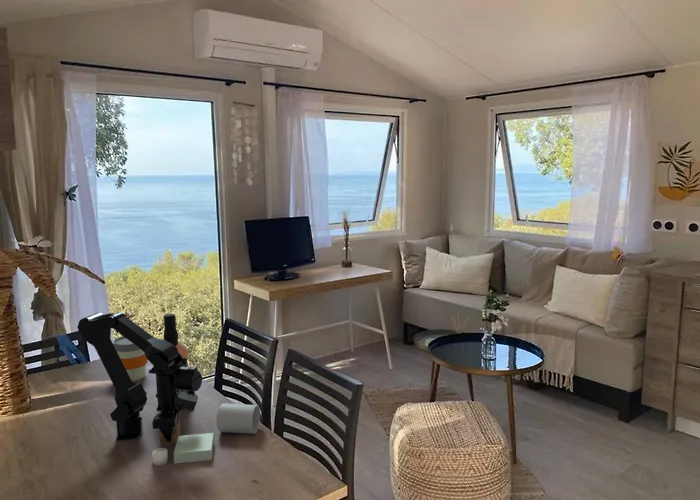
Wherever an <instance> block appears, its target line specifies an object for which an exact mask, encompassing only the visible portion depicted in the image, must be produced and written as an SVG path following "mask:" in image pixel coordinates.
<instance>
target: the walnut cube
mask: <svg viewBox="0 0 700 500" xmlns="http://www.w3.org/2000/svg"><path fill="white" fill-rule="evenodd" d="M180 424H181V423H180V419H178V420H177V423H176V426H175V427H173V429H172V437H171V441H166V439H165V437H164V436H163V434H162V433H161V431H160V430H159V441H160V445H161V446H165V445H176V443H177V440H178V436H181V425H180Z"/></svg>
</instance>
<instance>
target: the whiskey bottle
mask: <svg viewBox="0 0 700 500" xmlns="http://www.w3.org/2000/svg"><path fill="white" fill-rule="evenodd" d="M163 325H164V331H163V340H165V341H167V342H169V343H171V344H173V345H175V346H176V347H177V349H178V352H179V354H180V355H181V356H182V358H183V359H184V360H185V362H186V363H187V364H186V365H185V366H184V367H189V366H188V358H189V351H188V349H187V347H186V346H185V344H183V343H180V342H179V333H178V329H177V319H176V314H174V313H167V314H164V316H163ZM175 363H176V362H175V361H174V362H173V363H171V364H169V365H168V366H169V367H170V366H172V365H174V364H175ZM184 391H185V393H186V392H187V391H188V390H180V392H183V393H184ZM182 410H184V409H182V408H181V410H180V411H182Z"/></svg>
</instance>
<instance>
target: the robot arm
mask: <svg viewBox="0 0 700 500" xmlns="http://www.w3.org/2000/svg"><path fill="white" fill-rule="evenodd" d="M76 327H77V330H78V332H79V334H80V336H81V337H82V338H83V340H84V341H85V342H87V343H88V344H90V345H91V346H92V347H94V350H95V352H97V355H98V357H99V360H100V361H101V362H102V363H101V364H102V365H103V367H104V369H105V371H106V372H107V375H108V377H109V378H110V381H111V383H112V385H113V386H114V387H113V388H114V389H115V392H114V394H115V395H114V401H115V404H116V408H114V409H113V411H112V412H111V413H109V415H110V418H111V420H112V421H113V422H115V425H116V433H117V434H116V437H115V440H116V441H120V440H121V441H122V440H132V439H138V438H139V437H140V436H141V433H142V432H143V430H144V429H143V426H144V425H143V417H142V416H141V413H140V412H142V411H143V410H144V408H145V406H146V405H147V401H148V397H147V395H148V392H147V391H146V390H145V389H144V386H143V383H142V382H139V383H136V382H135V381H132V380H131V379H130V377H129V375H128V373H127V371H126V369H125V367H124V365H123V363H122V361H121V359H120V357H119V355H118V353H117V351H116V349H115V347H114V345H113V341H112V339H111V334H112V329H113V330H114V331H115V332H116V333H118V334H119V335H121V337H123V336H124V337H125V338H126V339H128V340H129V341H130V342H132V343H133V344H134V345H136V346H137V347H138V348H140V349H141V350H142V351H143V352H144V353H145V356H146V358H147V362H149V363H150V364H151V365H152V366H153V367H152V368H151V369H149V370H148V374H154V375H155V382H156V383H155V385H156V393H155V398H156V400H157V406H156V412H160V413H156V415H155V416H154V417H153V418H152V419H153V420H152V422H151V425H152V426H151V427H152V430H159V432H160V431H161V433H162V434H163V436H164V437H165V439H166V441H171V437H172V429H173V427H175V426H176V423H177V420H179V419H178V413H179V412H180V411H182V410H181V408H182V409H183V410H186V411H189V412H194V411H195V408H196V405H197V403H198V399H199V395H198V394H196V392H197V391H200V388H201V386H202V383H203V375H202V373H201V372H200V371H199V369H198V367H197V366H188V367H184V366H185V365H186V364H188V362H187V363H186V362H185V360H184V359H183V358H182V356H181V355H180V354H179V352H178V349H177V347H176V346H175V345H173V344H171V343H169V342H167V341H165V340H164V339H161V338H157V337H154V336H153V335H152V334H150V333H149V332H148V331H146V329H143V328H142V327H141V326H140V325H138V324H137V323H135V322H134V321H132V319H130V318H129V317H128V316H127V315H126V314H125V313H124V312H122V311H117V312H112V313H111V312H110V313H105V314H104V313H102V312H96V313H94V314H91V315H88V316H85V317H83V318H80V320H79V321H78V324H77V326H76ZM174 361H175V362H176V363H175V364H174V365H172V366H170V367H169V366H168V365H169V364H171V363H173V362H174ZM180 390H188V391H187V392H186V393H185V391H184V393H183V392H180Z"/></svg>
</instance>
